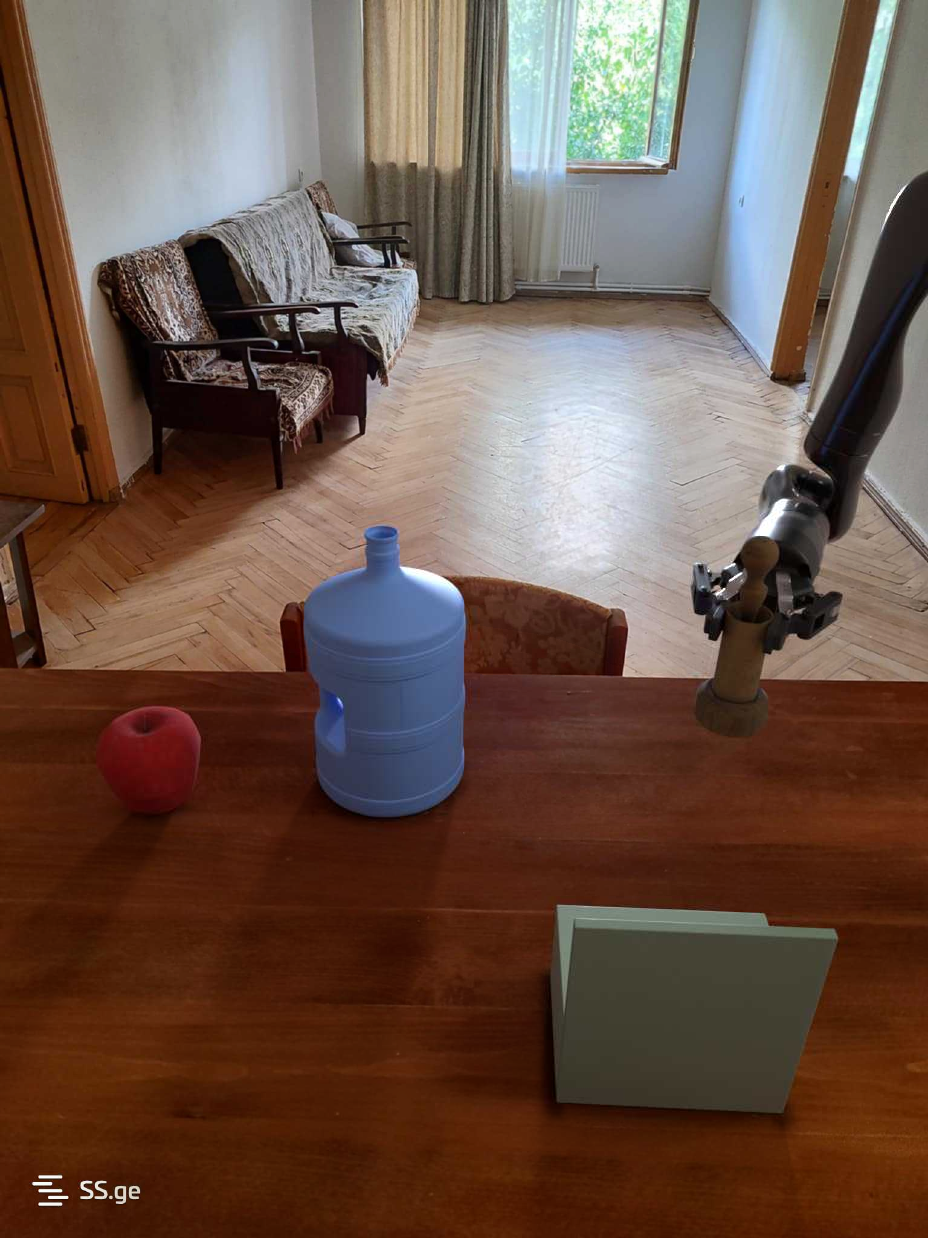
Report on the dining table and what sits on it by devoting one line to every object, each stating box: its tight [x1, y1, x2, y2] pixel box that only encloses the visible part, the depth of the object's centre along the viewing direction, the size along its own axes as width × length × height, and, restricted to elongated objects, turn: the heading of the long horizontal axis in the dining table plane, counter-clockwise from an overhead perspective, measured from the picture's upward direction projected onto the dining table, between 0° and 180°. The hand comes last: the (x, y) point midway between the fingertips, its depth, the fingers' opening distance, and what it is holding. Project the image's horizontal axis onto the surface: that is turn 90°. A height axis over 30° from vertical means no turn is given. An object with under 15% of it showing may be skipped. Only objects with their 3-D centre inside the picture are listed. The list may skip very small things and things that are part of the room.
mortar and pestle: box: [693, 535, 779, 739], centre depth 77 cm, size 7×6×18 cm
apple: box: [94, 705, 202, 815], centre depth 87 cm, size 10×10×11 cm
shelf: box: [549, 904, 839, 1114], centre depth 63 cm, size 16×11×18 cm
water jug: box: [303, 525, 467, 818], centre depth 88 cm, size 16×16×28 cm
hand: (740, 637), depth 74 cm, fingers closed on mortar and pestle, 4 cm apart
